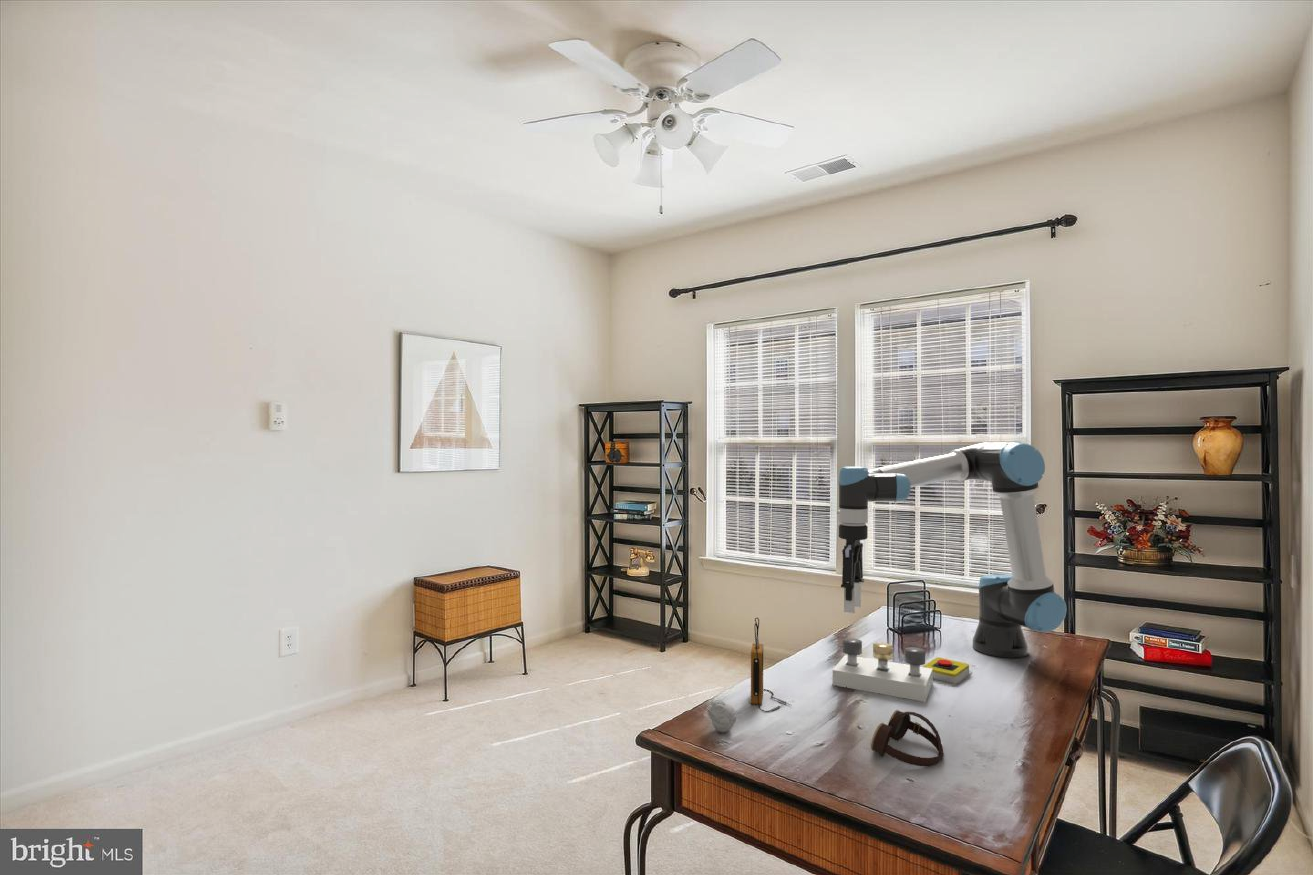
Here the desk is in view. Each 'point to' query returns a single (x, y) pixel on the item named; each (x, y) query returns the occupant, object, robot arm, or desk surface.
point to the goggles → (897, 731)
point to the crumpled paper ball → (721, 715)
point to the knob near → (914, 659)
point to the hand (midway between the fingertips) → (852, 608)
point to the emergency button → (948, 671)
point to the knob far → (852, 650)
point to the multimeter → (758, 673)
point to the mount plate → (883, 678)
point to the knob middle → (883, 655)
